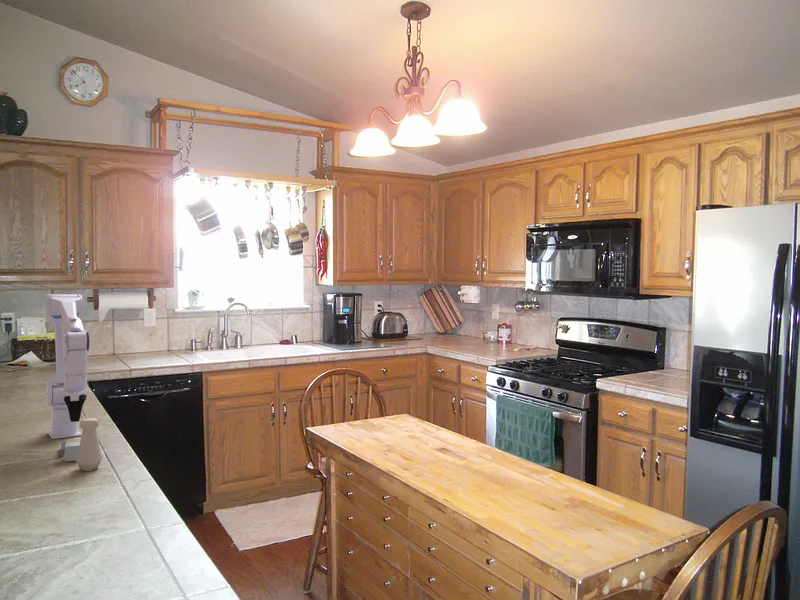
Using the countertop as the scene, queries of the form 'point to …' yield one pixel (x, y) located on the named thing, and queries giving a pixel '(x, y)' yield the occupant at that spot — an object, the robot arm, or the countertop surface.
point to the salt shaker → (89, 446)
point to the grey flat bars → (62, 449)
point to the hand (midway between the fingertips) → (75, 421)
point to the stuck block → (71, 451)
